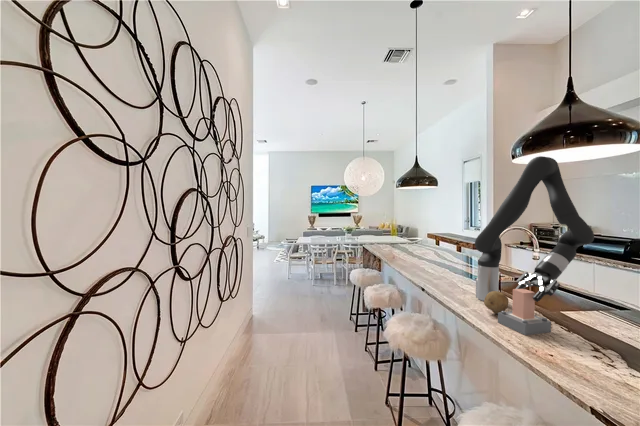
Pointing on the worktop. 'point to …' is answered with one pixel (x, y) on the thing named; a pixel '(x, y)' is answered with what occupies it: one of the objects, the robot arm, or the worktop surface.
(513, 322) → the base brick
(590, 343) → the worktop surface
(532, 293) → the coral brick
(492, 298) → the brown round lump
